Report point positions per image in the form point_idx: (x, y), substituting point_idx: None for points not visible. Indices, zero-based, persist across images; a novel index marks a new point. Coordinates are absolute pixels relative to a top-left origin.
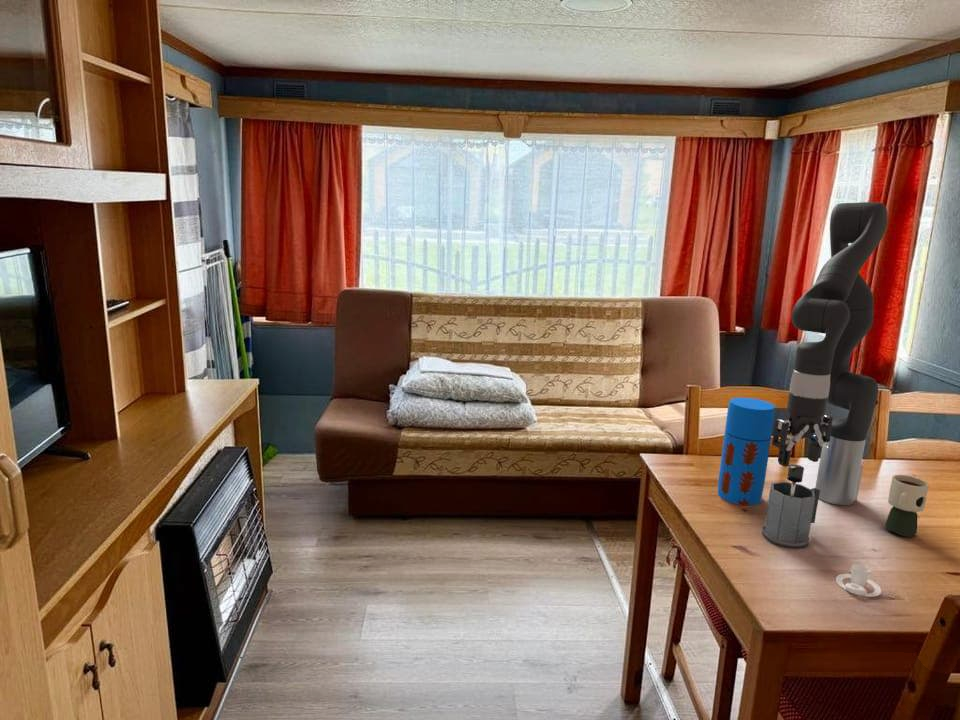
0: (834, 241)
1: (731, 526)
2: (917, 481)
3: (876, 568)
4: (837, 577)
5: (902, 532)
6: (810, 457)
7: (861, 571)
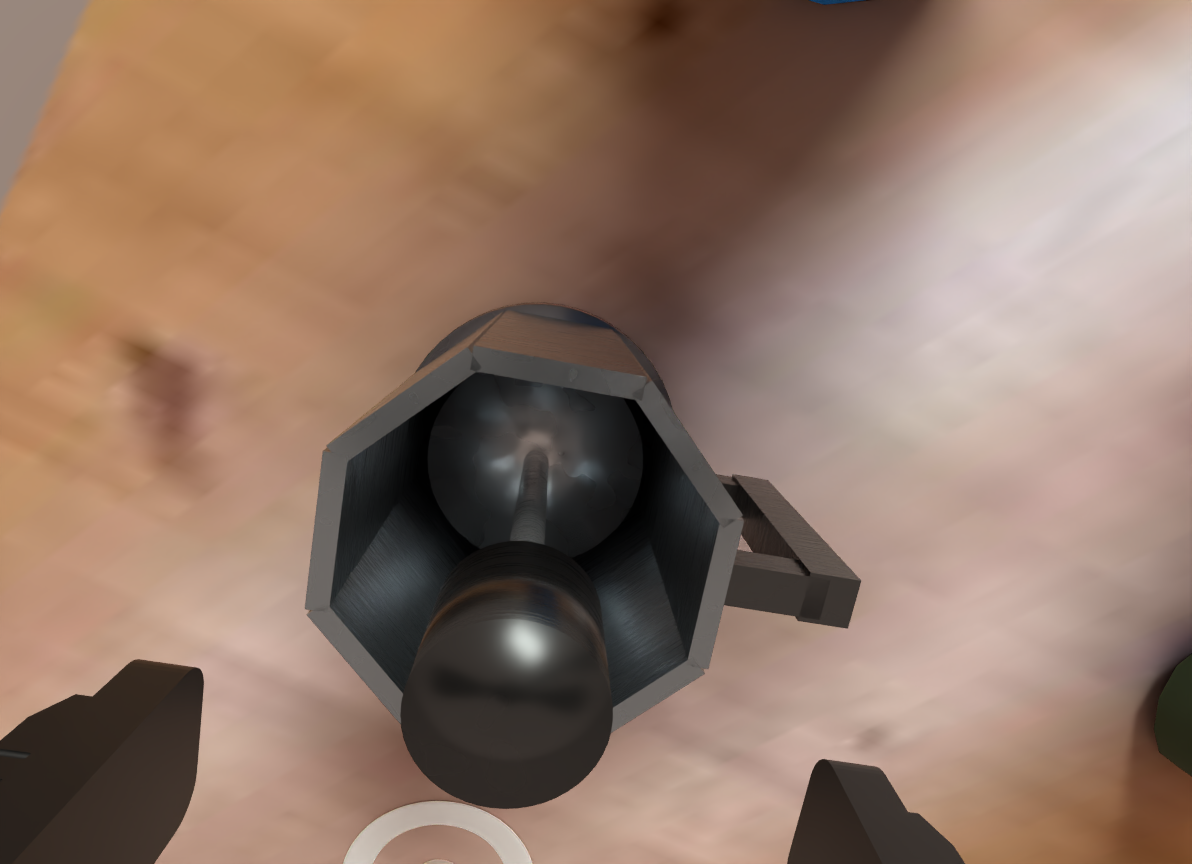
0: None
1: (347, 155)
2: None
3: (680, 840)
4: (403, 812)
5: (1173, 754)
6: (824, 823)
7: None
